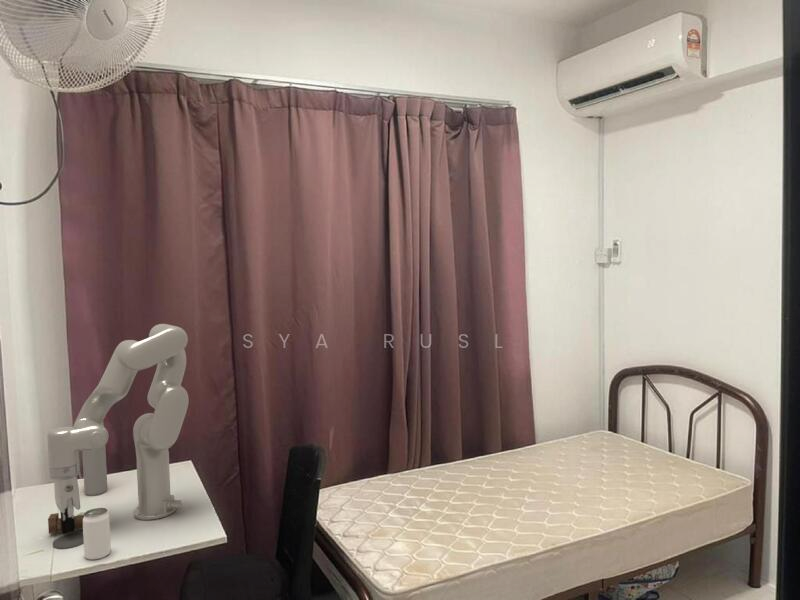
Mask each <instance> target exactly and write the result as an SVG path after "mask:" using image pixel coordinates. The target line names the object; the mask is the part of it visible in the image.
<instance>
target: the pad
mask: <svg viewBox="0 0 800 600" xmlns="http://www.w3.org/2000/svg"><path fill="white" fill-rule="evenodd" d="M81 545H84V539H83V532H71V533H67V534H63V535H61V536H60V537H56V539H54V540H53V542H52V547H53V548H54V549H57V550H67V549H68V550H69V549H73V548H76V547H79V546H81Z"/></svg>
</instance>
